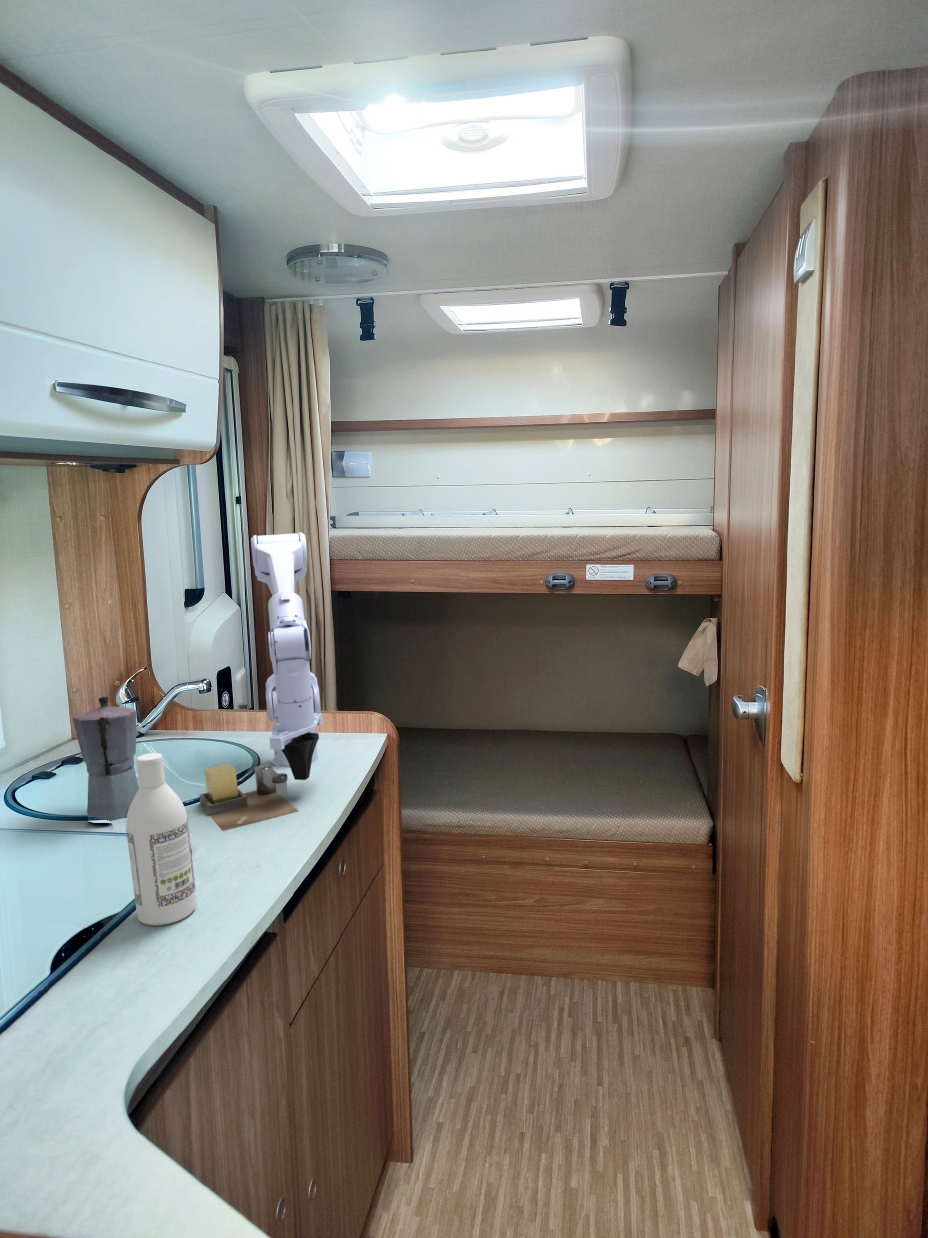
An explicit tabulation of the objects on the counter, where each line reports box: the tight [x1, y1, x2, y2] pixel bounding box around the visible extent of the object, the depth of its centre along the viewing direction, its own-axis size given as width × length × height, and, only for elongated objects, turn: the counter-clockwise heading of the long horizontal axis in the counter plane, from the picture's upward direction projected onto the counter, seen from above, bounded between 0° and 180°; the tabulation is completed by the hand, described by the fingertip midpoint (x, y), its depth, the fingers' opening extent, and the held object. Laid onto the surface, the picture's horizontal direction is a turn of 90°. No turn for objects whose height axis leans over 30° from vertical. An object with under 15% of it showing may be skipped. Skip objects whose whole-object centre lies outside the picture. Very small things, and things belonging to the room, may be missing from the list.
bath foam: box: [125, 752, 198, 926], centre depth 96 cm, size 7×7×20 cm
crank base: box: [199, 787, 299, 832], centre depth 128 cm, size 14×12×3 cm
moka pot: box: [72, 696, 140, 822], centre depth 128 cm, size 10×15×20 cm, turn 26°
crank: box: [254, 763, 289, 795], centre depth 131 cm, size 11×3×5 cm, turn 32°
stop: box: [204, 763, 239, 804], centre depth 129 cm, size 4×4×6 cm
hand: (301, 778), depth 131 cm, fingers closed
